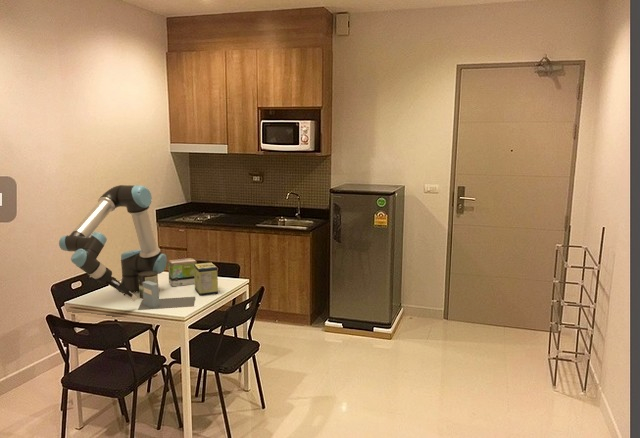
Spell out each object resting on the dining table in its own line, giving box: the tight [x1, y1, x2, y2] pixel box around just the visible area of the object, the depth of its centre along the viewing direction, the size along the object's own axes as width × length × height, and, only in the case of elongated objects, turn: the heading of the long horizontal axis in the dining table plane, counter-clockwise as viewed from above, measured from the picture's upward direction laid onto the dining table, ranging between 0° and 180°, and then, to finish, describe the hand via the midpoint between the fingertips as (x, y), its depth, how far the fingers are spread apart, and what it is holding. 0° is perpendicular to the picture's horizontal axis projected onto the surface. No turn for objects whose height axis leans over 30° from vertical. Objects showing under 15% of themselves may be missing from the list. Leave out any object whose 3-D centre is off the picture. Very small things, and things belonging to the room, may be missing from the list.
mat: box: [137, 296, 196, 311], centre depth 266 cm, size 18×28×1 cm, turn 102°
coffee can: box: [138, 271, 159, 300], centre depth 278 cm, size 10×10×14 cm
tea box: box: [167, 257, 198, 288], centre depth 306 cm, size 15×10×15 cm, turn 120°
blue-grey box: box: [142, 281, 160, 308], centre depth 262 cm, size 4×10×12 cm, turn 47°
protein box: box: [194, 261, 219, 297], centre depth 289 cm, size 10×16×16 cm
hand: (135, 298), depth 255 cm, fingers closed
